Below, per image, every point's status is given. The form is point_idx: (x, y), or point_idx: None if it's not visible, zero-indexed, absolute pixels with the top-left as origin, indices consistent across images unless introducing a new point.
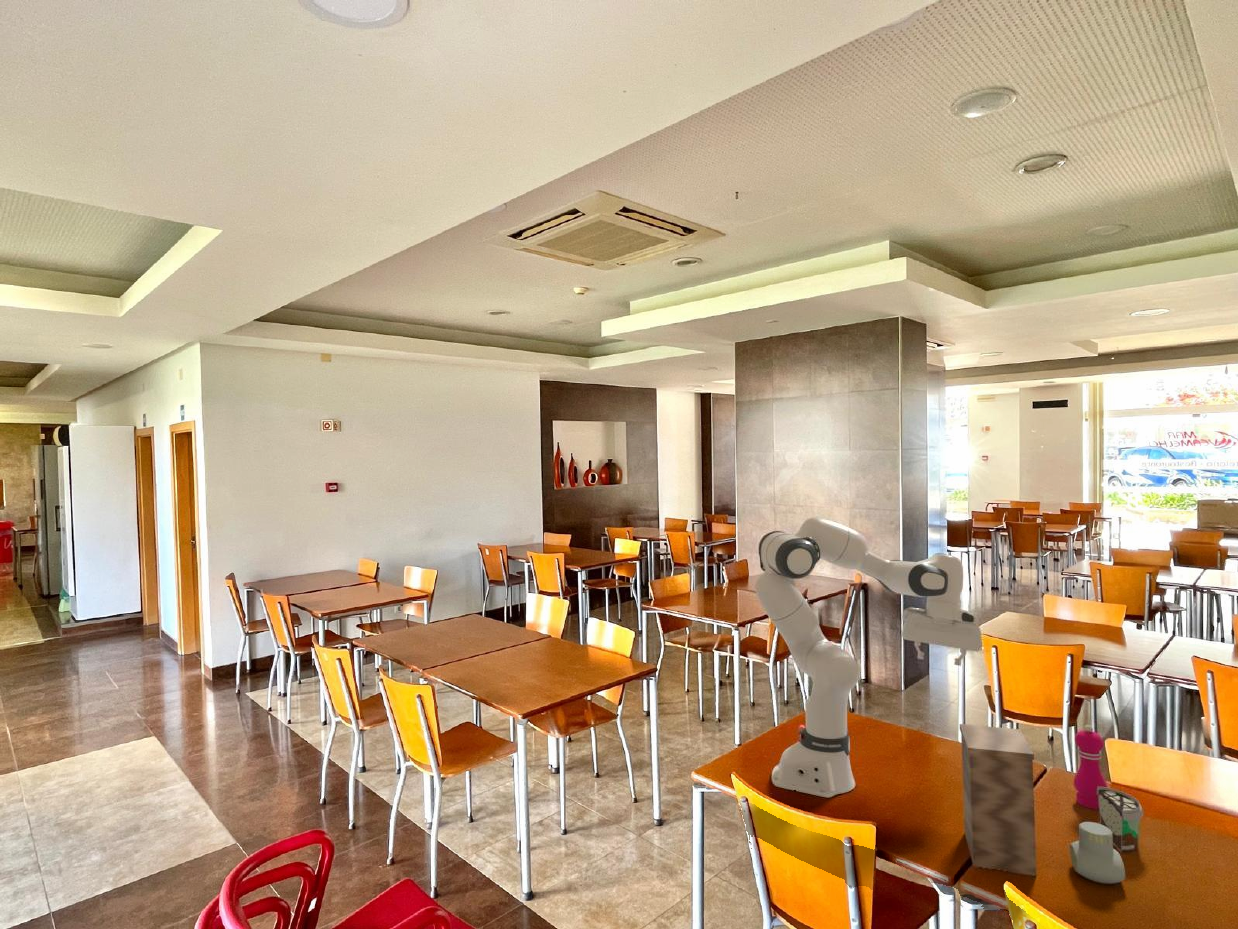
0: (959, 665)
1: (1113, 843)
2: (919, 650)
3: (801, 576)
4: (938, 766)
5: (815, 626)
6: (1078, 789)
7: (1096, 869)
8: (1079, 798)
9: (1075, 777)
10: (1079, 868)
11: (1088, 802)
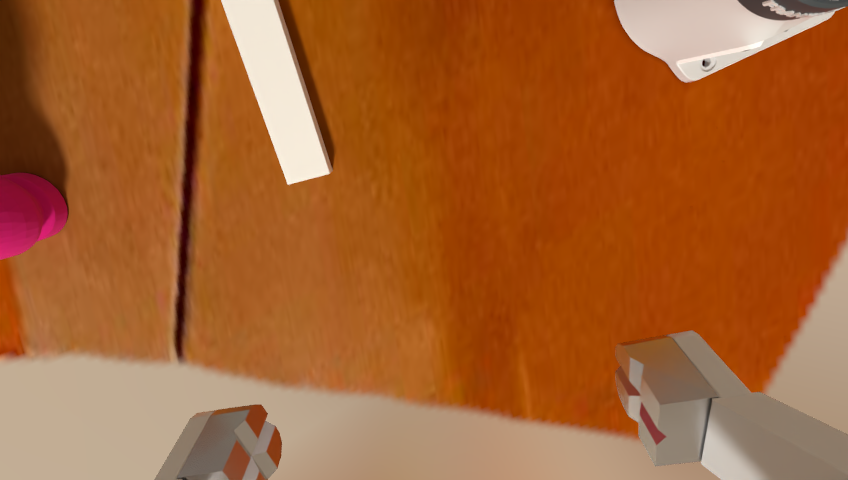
0: (212, 411)
1: None
2: (764, 419)
3: None
4: (418, 241)
5: None
6: (16, 186)
7: None
8: (41, 188)
9: (6, 213)
10: None
11: (15, 175)
